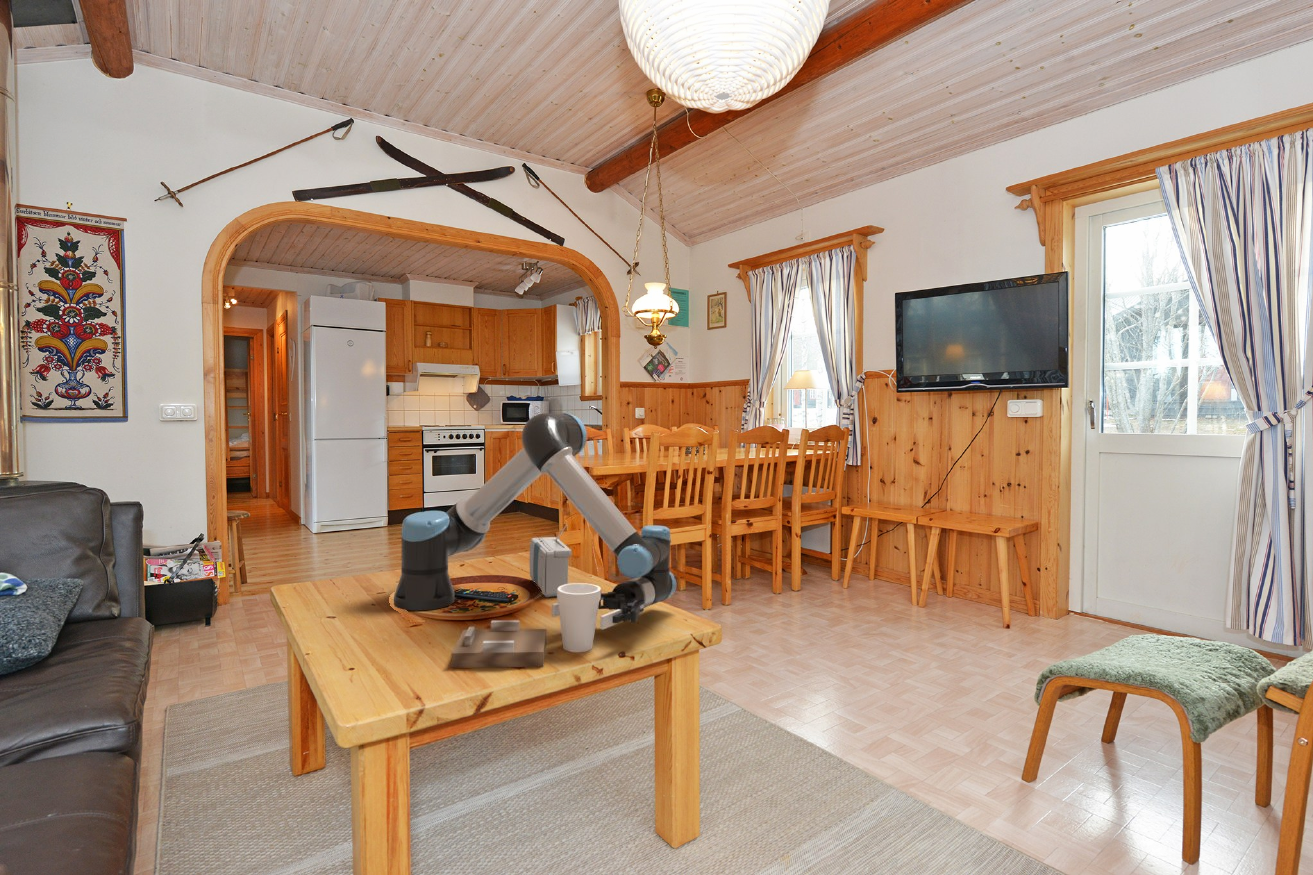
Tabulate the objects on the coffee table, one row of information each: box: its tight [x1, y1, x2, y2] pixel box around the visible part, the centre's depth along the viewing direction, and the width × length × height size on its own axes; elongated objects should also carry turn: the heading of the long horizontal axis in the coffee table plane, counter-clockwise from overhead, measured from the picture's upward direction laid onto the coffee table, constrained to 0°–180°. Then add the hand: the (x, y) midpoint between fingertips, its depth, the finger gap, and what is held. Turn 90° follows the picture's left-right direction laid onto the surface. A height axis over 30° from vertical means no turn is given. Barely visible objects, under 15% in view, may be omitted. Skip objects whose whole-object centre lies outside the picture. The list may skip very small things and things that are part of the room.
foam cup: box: [556, 582, 602, 653], centre depth 149 cm, size 10×9×13 cm
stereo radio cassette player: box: [529, 524, 572, 598], centre depth 197 cm, size 21×8×20 cm, turn 21°
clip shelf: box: [451, 619, 547, 669], centre depth 144 cm, size 18×14×5 cm
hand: (576, 616), depth 148 cm, fingers open, 13 cm apart
